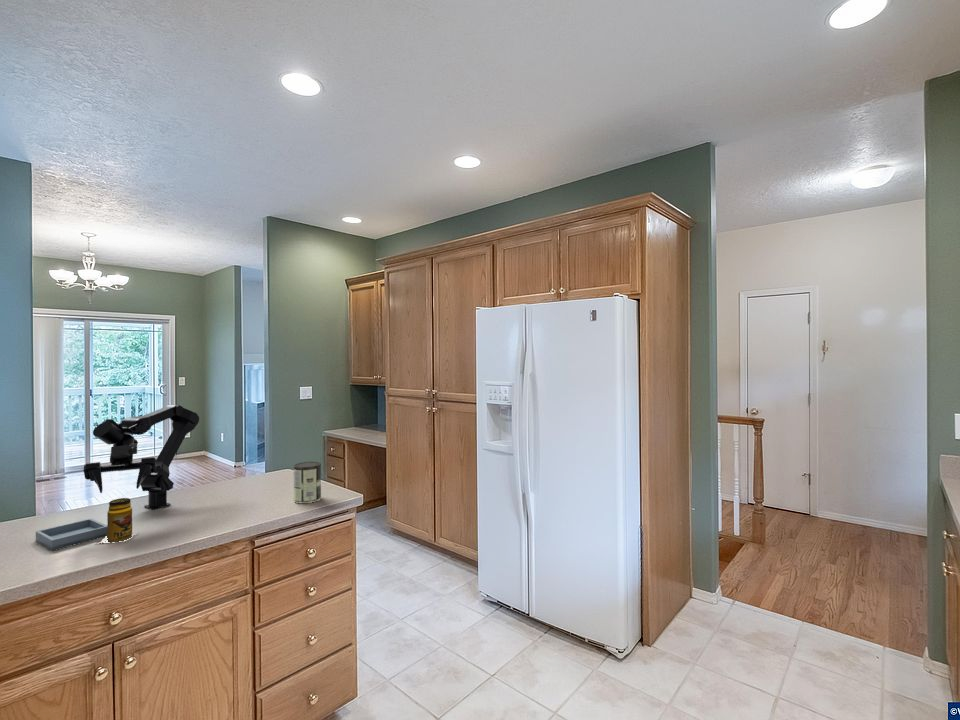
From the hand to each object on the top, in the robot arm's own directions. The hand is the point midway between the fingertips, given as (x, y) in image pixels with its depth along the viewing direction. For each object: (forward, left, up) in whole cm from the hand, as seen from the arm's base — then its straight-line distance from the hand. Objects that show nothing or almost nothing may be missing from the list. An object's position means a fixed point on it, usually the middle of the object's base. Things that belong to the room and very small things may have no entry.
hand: (119, 490), depth 148 cm
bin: (-5, -10, -13) cm, 17 cm away
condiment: (+7, -3, -13) cm, 15 cm away
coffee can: (+23, +54, -13) cm, 60 cm away
